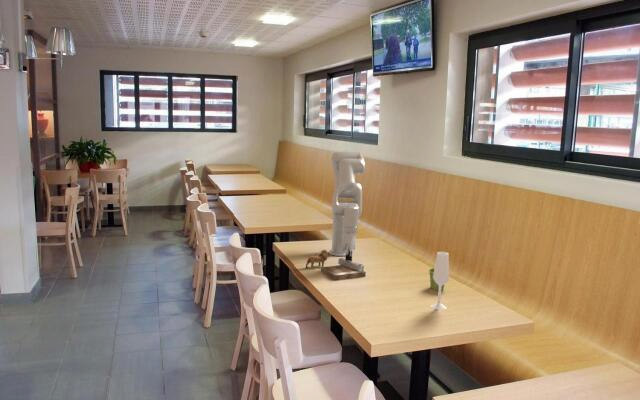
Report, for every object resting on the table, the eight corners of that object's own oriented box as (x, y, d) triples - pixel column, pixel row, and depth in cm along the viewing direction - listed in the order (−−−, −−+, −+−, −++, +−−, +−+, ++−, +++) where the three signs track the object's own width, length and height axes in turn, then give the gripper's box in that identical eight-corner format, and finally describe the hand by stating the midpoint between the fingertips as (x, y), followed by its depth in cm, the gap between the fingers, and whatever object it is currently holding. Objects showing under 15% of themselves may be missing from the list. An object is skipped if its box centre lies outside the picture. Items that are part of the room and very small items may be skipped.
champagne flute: (449, 309, 218) (454, 255, 214) (435, 310, 216) (439, 255, 212) (441, 303, 224) (445, 250, 220) (427, 304, 222) (431, 251, 218)
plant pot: (448, 286, 248) (449, 269, 246) (446, 292, 239) (447, 275, 238) (428, 284, 251) (429, 267, 249) (426, 289, 242) (427, 272, 241)
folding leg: (364, 270, 259) (364, 265, 258) (361, 271, 257) (361, 266, 257) (341, 263, 270) (341, 258, 270) (338, 264, 269) (338, 258, 268)
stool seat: (350, 268, 272) (350, 263, 272) (365, 276, 259) (365, 271, 258) (320, 271, 264) (320, 267, 263) (334, 280, 251) (334, 275, 250)
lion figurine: (323, 264, 278) (324, 248, 276) (329, 266, 274) (330, 250, 272) (302, 268, 268) (302, 252, 267) (308, 271, 264) (309, 254, 263)
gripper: (347, 225, 274) (345, 258, 278) (339, 231, 260) (337, 265, 264) (360, 227, 272) (358, 260, 275) (353, 233, 258) (351, 267, 261)
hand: (348, 262), depth 270 cm, fingers closed
